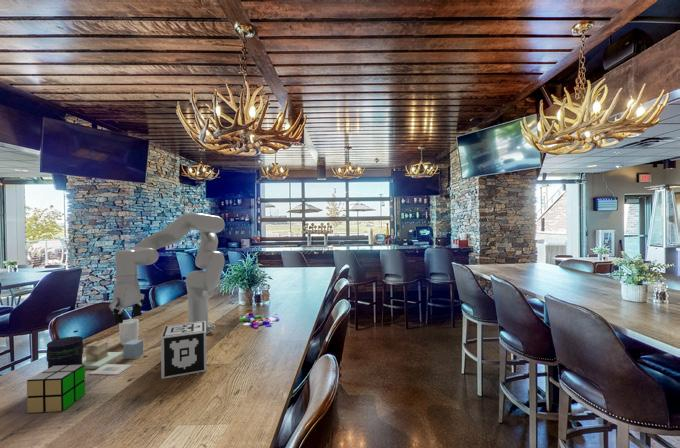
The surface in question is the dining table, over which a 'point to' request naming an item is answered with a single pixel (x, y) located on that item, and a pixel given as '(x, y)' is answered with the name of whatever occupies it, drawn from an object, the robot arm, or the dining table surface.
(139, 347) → the slate block
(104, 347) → the maple block
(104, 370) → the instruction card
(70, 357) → the storage jar
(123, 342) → the white cup
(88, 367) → the board
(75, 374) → the puzzle cube
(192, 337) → the block
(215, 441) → the dining table surface
